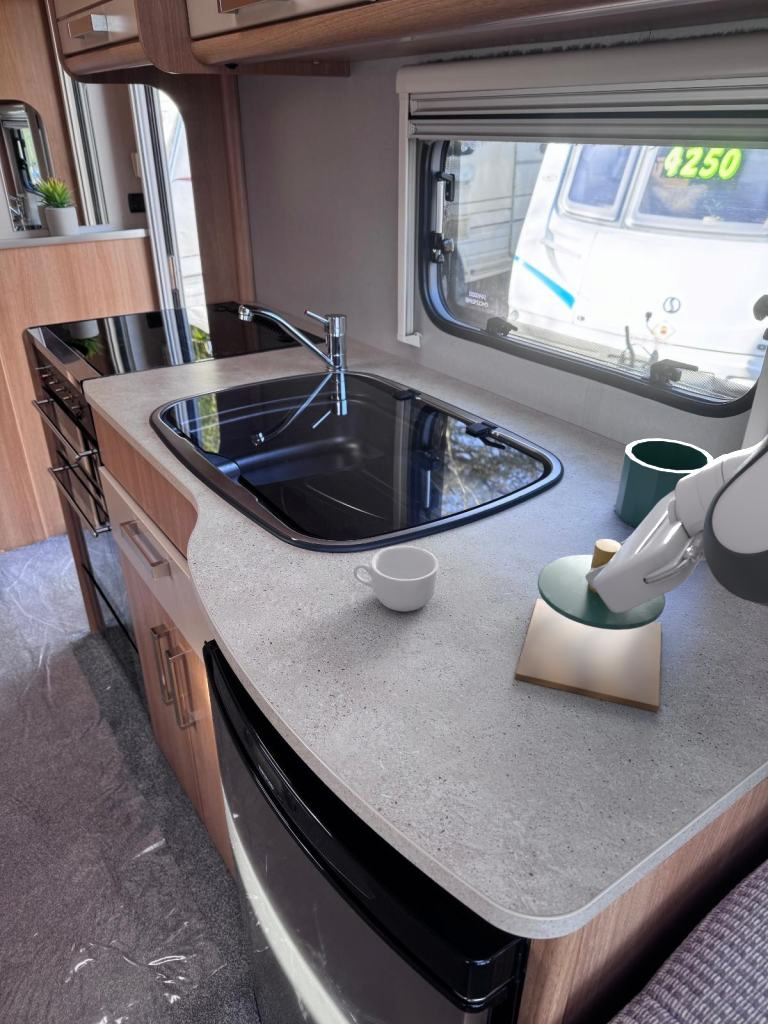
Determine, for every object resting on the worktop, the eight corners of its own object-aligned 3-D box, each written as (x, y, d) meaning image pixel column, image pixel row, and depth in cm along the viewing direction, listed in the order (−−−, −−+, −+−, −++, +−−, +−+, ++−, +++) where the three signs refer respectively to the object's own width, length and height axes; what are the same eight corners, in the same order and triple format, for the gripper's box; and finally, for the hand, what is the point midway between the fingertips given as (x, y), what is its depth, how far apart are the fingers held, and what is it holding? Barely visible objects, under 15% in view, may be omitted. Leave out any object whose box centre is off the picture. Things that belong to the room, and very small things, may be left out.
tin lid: (664, 576, 78) (676, 526, 75) (662, 647, 67) (676, 592, 64) (546, 554, 81) (553, 506, 78) (527, 618, 71) (534, 565, 68)
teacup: (440, 586, 89) (442, 549, 86) (431, 624, 82) (433, 585, 79) (361, 576, 90) (361, 539, 88) (346, 613, 84) (345, 574, 81)
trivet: (660, 628, 82) (661, 622, 81) (658, 712, 70) (659, 706, 70) (536, 603, 86) (536, 597, 85) (514, 679, 74) (515, 673, 74)
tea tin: (697, 503, 108) (712, 445, 104) (700, 540, 99) (715, 478, 94) (617, 491, 112) (627, 434, 107) (612, 526, 102) (623, 465, 97)
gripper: (713, 598, 56) (576, 649, 66) (766, 500, 71) (648, 554, 80) (666, 531, 56) (536, 592, 66) (729, 448, 71) (615, 507, 81)
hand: (598, 570), depth 73 cm, fingers closed on tin lid, 2 cm apart
